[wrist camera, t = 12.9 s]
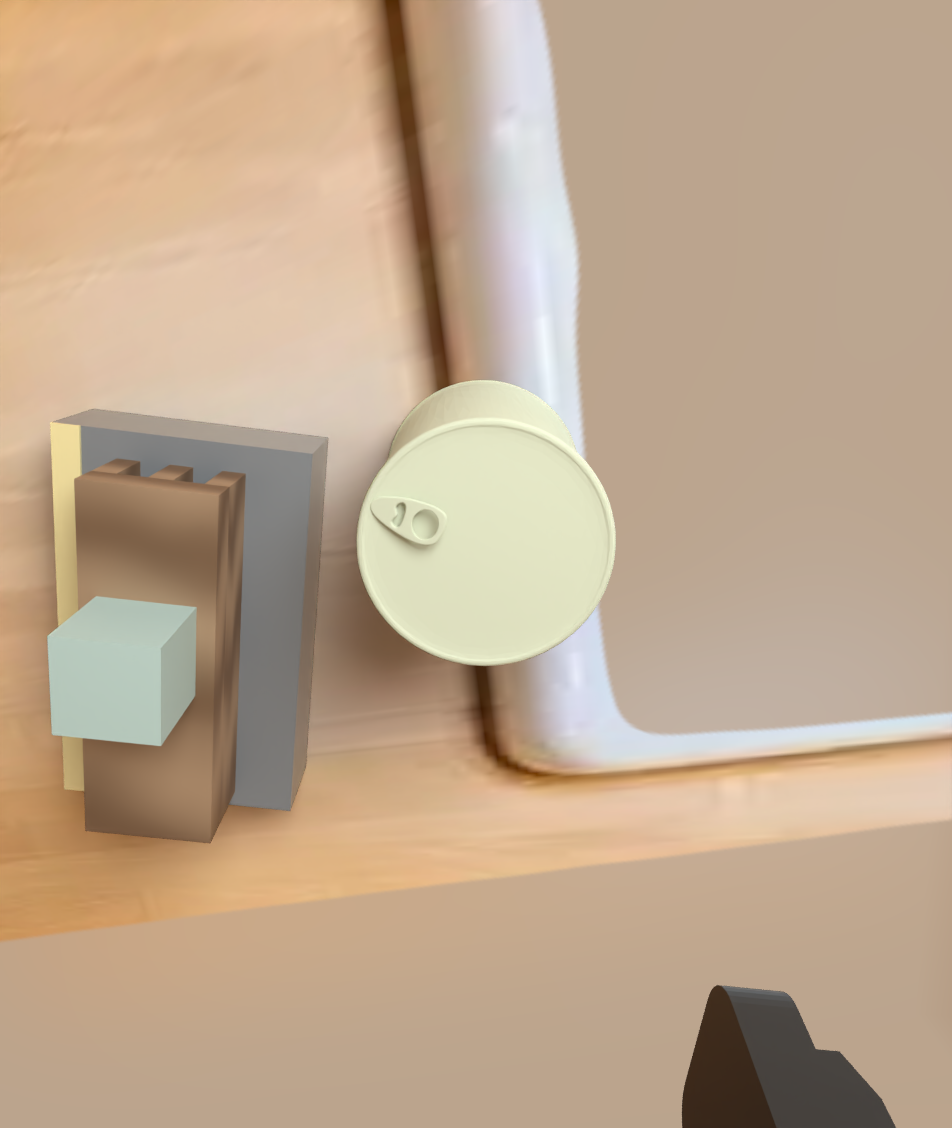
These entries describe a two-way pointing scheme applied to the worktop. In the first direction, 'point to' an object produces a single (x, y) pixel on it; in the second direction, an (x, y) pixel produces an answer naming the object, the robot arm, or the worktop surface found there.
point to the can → (485, 528)
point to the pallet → (214, 585)
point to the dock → (269, 578)
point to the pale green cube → (122, 670)
